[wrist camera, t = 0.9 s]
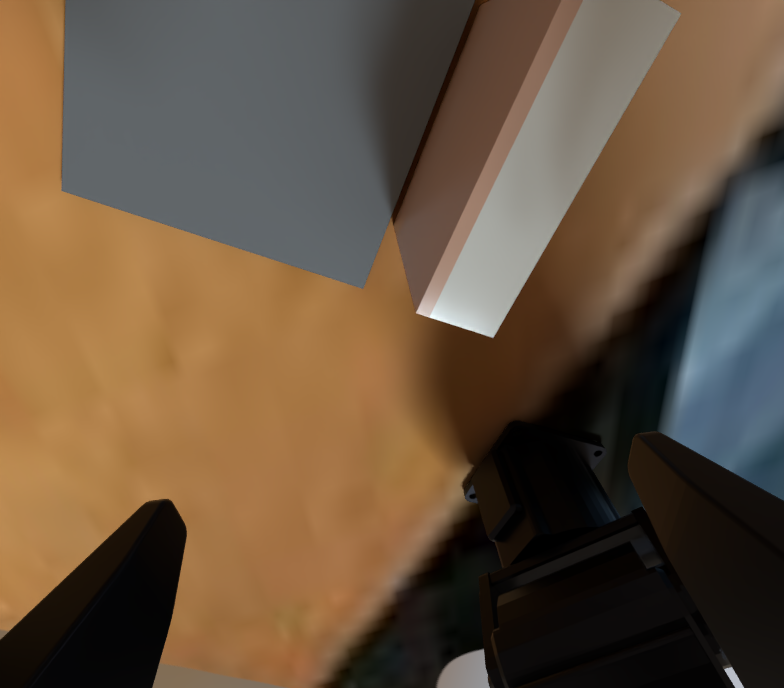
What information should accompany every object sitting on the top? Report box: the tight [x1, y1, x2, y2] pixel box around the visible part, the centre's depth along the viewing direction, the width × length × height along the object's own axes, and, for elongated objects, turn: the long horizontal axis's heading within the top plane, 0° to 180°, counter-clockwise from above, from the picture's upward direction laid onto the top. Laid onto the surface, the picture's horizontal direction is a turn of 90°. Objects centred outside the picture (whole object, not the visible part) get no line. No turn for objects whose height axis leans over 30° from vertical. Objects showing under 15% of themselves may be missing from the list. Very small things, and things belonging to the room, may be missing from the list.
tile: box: [394, 0, 681, 338], centre depth 14 cm, size 2×8×8 cm, turn 159°
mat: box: [62, 0, 475, 289], centre depth 15 cm, size 12×14×1 cm
